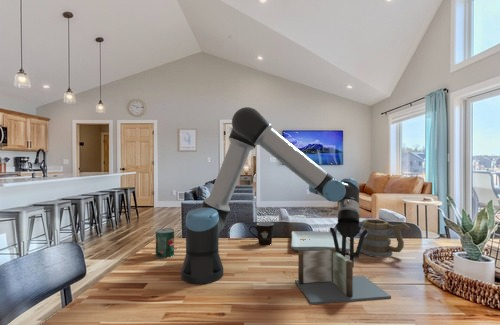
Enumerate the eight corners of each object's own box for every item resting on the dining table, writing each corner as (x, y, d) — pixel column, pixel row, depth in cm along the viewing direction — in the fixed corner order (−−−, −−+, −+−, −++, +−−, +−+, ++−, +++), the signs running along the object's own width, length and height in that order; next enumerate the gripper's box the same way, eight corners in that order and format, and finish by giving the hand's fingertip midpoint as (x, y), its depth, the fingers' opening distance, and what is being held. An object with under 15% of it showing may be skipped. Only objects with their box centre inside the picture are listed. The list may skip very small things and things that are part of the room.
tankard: (355, 252, 124) (355, 219, 124) (367, 246, 133) (367, 215, 133) (403, 263, 110) (403, 226, 110) (413, 256, 118) (413, 221, 118)
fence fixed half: (299, 284, 90) (299, 252, 90) (297, 281, 92) (297, 250, 92) (337, 282, 92) (337, 250, 92) (334, 279, 94) (334, 248, 94)
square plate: (291, 237, 150) (291, 230, 150) (343, 239, 146) (343, 232, 146) (291, 253, 124) (291, 245, 124) (354, 256, 119) (354, 247, 119)
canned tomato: (175, 256, 119) (175, 231, 119) (156, 259, 115) (156, 233, 115) (172, 251, 126) (172, 227, 126) (154, 253, 123) (154, 229, 123)
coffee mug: (276, 242, 139) (276, 223, 139) (268, 247, 131) (268, 226, 131) (256, 239, 145) (256, 220, 145) (248, 243, 138) (248, 223, 138)
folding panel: (332, 282, 91) (332, 251, 91) (337, 281, 92) (337, 251, 92) (348, 296, 81) (348, 262, 81) (353, 296, 81) (353, 262, 81)
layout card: (311, 304, 79) (311, 301, 79) (295, 281, 93) (295, 279, 93) (390, 298, 82) (390, 295, 82) (363, 277, 97) (363, 275, 97)
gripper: (329, 207, 103) (325, 268, 87) (367, 209, 98) (369, 274, 82) (331, 218, 108) (327, 278, 92) (367, 221, 103) (369, 284, 87)
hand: (347, 276), depth 87 cm, fingers closed
